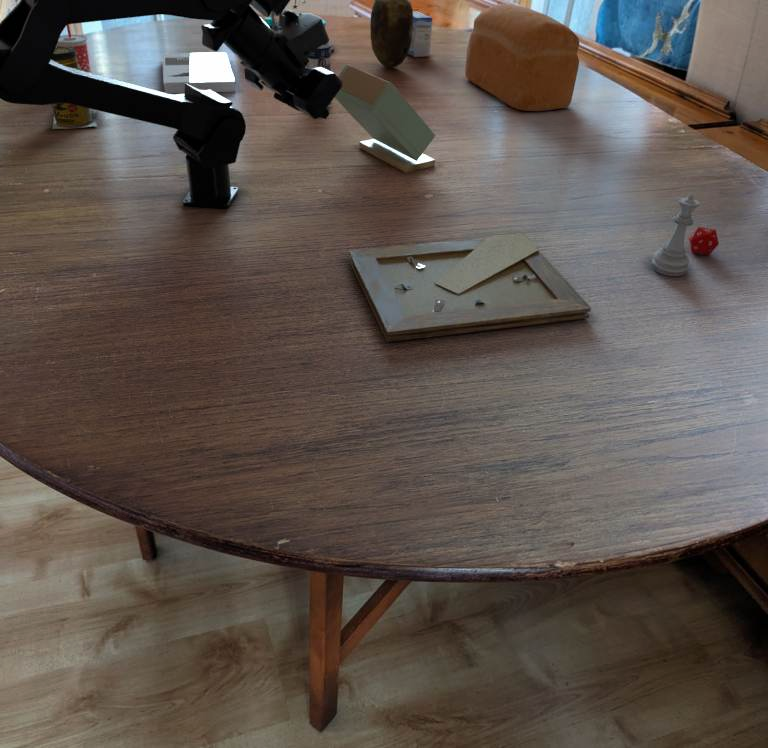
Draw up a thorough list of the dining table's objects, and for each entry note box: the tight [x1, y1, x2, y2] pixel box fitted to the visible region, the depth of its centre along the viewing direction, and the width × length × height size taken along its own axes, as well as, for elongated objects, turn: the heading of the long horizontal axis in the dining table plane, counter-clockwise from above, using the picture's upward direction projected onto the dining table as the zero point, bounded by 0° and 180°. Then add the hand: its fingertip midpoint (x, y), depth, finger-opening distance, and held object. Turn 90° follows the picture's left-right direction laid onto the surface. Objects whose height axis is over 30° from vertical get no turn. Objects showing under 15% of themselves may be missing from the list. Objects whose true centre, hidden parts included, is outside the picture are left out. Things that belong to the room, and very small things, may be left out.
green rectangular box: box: [334, 63, 436, 161], centre depth 114 cm, size 5×12×13 cm
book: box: [161, 51, 237, 95], centre depth 152 cm, size 23×14×2 cm, turn 14°
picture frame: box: [348, 232, 592, 343], centre depth 86 cm, size 19×2×24 cm
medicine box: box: [407, 10, 433, 58], centre depth 174 cm, size 8×4×9 cm, turn 25°
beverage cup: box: [56, 24, 92, 73], centre depth 140 cm, size 6×6×14 cm
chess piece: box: [650, 193, 700, 277], centre depth 90 cm, size 4×4×10 cm
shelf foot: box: [358, 138, 436, 174], centre depth 120 cm, size 6×13×1 cm, turn 36°
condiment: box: [51, 46, 98, 130], centre depth 124 cm, size 7×8×12 cm
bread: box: [464, 3, 580, 112], centre depth 148 cm, size 14×26×16 cm, turn 20°
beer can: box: [306, 41, 332, 107], centre depth 137 cm, size 5×5×12 cm
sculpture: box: [369, 0, 414, 69], centre depth 159 cm, size 13×8×20 cm, turn 15°
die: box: [688, 226, 720, 256], centre depth 96 cm, size 4×3×4 cm
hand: (326, 115), depth 108 cm, fingers closed
